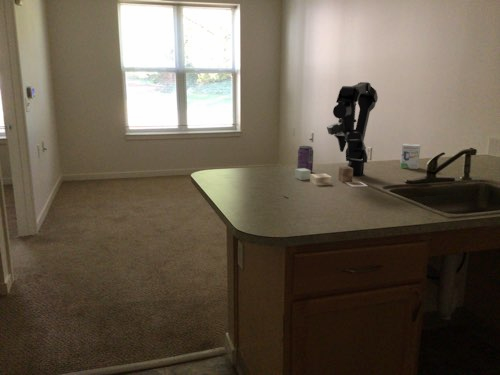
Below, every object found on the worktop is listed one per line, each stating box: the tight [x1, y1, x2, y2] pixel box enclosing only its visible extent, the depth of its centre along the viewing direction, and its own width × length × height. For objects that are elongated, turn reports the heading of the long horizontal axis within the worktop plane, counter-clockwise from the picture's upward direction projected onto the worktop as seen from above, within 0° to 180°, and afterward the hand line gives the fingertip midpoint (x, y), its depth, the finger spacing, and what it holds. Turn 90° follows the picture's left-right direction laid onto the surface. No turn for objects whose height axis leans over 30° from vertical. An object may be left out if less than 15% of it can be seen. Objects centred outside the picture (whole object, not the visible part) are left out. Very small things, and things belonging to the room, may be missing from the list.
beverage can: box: [296, 145, 314, 173], centre depth 209 cm, size 7×7×12 cm
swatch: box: [344, 181, 369, 188], centre depth 187 cm, size 7×7×1 cm
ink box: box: [399, 143, 421, 170], centre depth 223 cm, size 9×5×12 cm, turn 73°
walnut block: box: [338, 165, 354, 183], centre depth 192 cm, size 4×4×6 cm
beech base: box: [309, 173, 333, 186], centre depth 189 cm, size 7×7×4 cm
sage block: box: [294, 168, 312, 181], centre depth 197 cm, size 5×5×4 cm
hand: (345, 153), depth 191 cm, fingers open, 9 cm apart
